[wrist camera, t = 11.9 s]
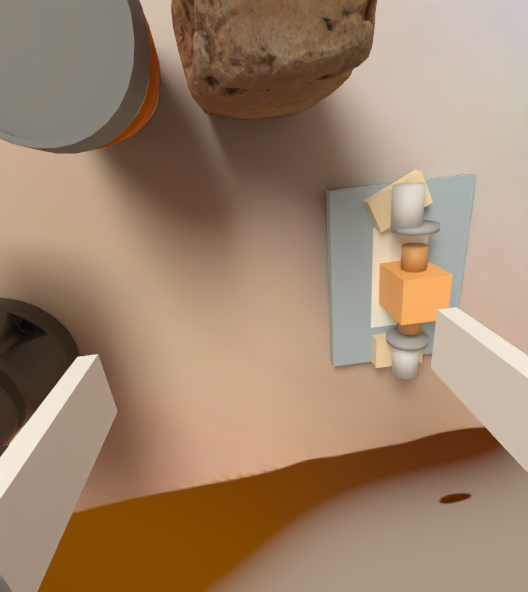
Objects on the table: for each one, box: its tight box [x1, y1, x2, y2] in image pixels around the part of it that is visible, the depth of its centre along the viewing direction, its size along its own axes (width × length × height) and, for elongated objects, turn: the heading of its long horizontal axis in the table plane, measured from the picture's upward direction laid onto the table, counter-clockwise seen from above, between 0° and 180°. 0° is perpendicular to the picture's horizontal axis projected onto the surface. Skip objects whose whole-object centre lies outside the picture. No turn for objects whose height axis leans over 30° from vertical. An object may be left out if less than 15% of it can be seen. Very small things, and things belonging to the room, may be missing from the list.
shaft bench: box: [326, 170, 477, 380], centre depth 38 cm, size 16×23×7 cm
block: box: [171, 0, 377, 120], centre depth 23 cm, size 11×8×20 cm
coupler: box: [379, 243, 453, 335], centre depth 38 cm, size 5×10×6 cm, turn 6°
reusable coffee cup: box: [0, 0, 161, 153], centre depth 25 cm, size 13×13×15 cm
